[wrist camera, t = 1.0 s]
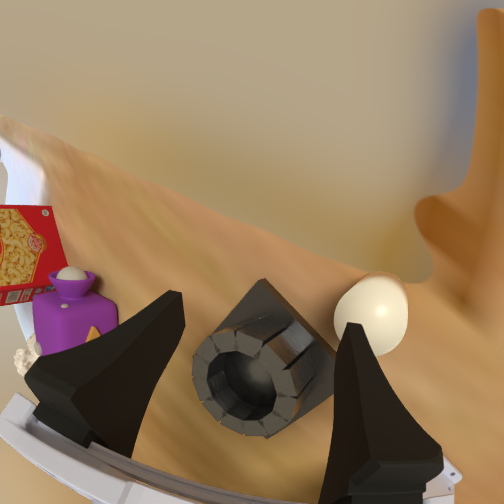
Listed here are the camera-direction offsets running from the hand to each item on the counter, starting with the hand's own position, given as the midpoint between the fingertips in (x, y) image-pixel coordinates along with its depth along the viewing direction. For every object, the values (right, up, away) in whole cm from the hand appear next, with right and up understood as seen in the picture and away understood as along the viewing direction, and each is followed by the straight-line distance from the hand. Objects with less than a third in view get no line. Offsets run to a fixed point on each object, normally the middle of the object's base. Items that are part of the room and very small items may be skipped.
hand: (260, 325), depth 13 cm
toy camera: (-21, -5, +26) cm, 33 cm away
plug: (+9, -1, +9) cm, 13 cm away
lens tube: (+1, -7, +13) cm, 15 cm away
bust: (-35, -14, +34) cm, 51 cm away
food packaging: (-33, +3, +32) cm, 46 cm away
